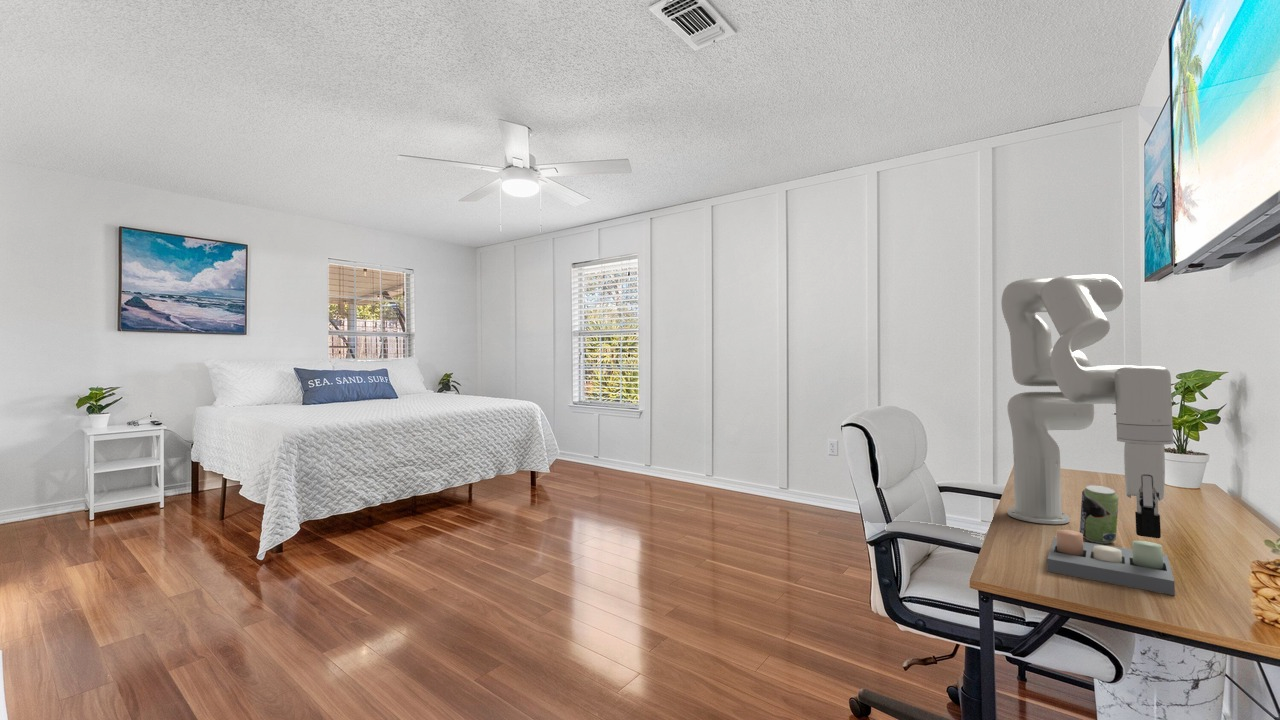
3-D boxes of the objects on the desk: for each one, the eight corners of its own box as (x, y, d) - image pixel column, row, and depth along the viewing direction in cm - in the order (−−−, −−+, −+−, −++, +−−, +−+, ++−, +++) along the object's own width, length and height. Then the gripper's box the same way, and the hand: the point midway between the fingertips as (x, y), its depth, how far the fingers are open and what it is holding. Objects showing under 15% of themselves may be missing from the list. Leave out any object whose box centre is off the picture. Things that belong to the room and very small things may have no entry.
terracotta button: (1057, 547, 108) (1057, 528, 108) (1083, 551, 105) (1083, 532, 105) (1056, 552, 105) (1055, 533, 105) (1083, 556, 102) (1082, 537, 102)
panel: (1054, 548, 113) (1054, 537, 113) (1167, 567, 102) (1167, 554, 102) (1047, 571, 101) (1047, 558, 101) (1174, 595, 90) (1174, 581, 90)
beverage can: (1102, 536, 121) (1100, 482, 121) (1128, 547, 113) (1127, 490, 114) (1072, 536, 121) (1070, 482, 122) (1096, 547, 114) (1094, 490, 114)
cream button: (1094, 563, 104) (1093, 544, 104) (1121, 568, 102) (1121, 548, 102) (1093, 569, 101) (1093, 549, 101) (1122, 574, 99) (1121, 554, 99)
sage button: (1132, 559, 101) (1131, 539, 101) (1162, 564, 98) (1161, 543, 98) (1133, 565, 98) (1132, 544, 98) (1163, 570, 95) (1163, 549, 95)
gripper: (1116, 429, 106) (1120, 523, 106) (1116, 436, 95) (1120, 542, 94) (1169, 431, 101) (1174, 530, 101) (1176, 439, 90) (1181, 550, 89)
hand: (1148, 535), depth 98 cm, fingers closed
